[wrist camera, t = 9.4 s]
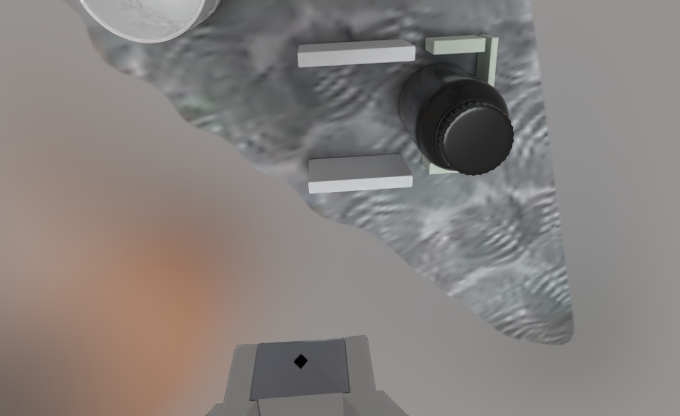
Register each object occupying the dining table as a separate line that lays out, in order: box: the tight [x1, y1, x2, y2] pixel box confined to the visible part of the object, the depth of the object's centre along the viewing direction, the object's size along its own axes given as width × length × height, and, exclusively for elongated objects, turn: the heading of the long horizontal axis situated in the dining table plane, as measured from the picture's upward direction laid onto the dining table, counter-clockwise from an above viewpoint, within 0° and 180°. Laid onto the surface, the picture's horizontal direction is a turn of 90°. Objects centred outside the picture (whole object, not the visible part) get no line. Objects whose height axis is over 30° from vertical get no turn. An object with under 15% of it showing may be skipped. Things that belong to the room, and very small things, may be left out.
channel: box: [297, 39, 415, 194], centre depth 38 cm, size 11×8×6 cm
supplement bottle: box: [399, 64, 514, 176], centre depth 35 cm, size 7×7×12 cm
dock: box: [422, 34, 498, 174], centre depth 39 cm, size 11×5×3 cm, turn 3°
